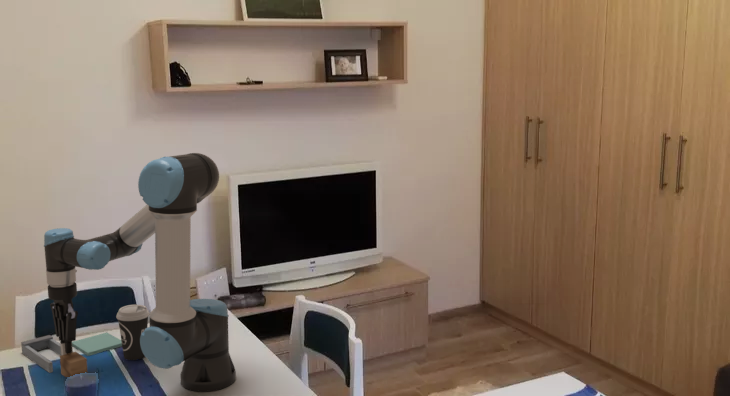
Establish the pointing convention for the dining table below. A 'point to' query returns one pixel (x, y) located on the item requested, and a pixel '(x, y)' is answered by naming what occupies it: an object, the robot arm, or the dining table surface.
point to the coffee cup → (132, 329)
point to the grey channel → (37, 344)
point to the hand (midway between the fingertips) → (67, 362)
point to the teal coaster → (97, 344)
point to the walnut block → (73, 364)
